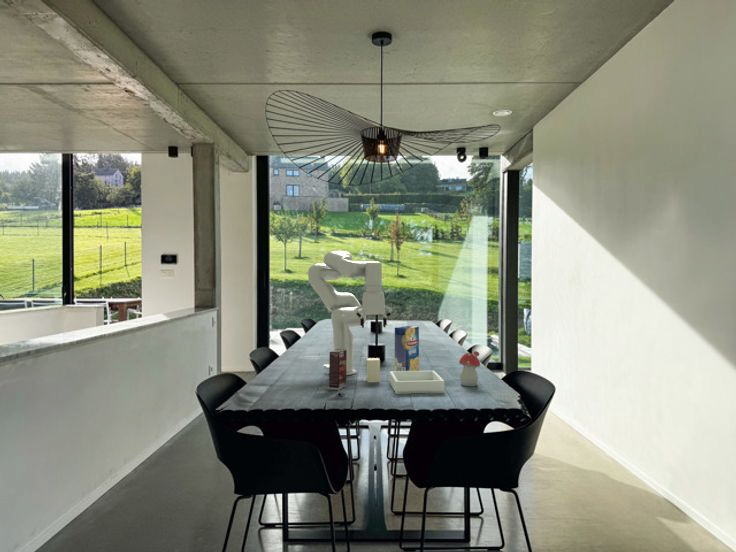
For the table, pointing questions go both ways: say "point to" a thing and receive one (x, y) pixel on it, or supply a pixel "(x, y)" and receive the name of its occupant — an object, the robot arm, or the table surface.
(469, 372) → the decorative ornament
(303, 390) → the table surface
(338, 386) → the supplement box
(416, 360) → the blue cardboard box
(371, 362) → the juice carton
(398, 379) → the tray
